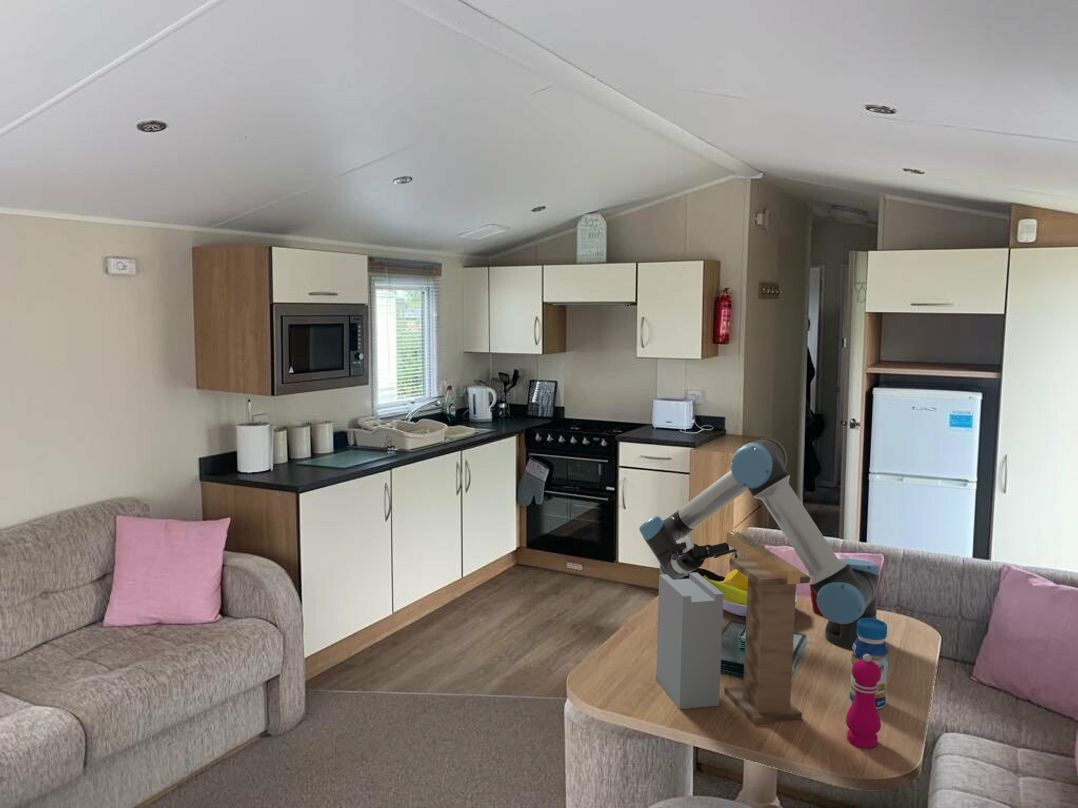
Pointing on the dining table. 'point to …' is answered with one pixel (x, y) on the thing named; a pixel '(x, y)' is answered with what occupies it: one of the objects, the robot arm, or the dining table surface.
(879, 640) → the beverage bottle
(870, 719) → the pepper mill
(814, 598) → the plastic cup
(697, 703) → the block
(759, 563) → the wooden bar
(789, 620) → the walnut stand
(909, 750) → the dining table surface
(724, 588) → the fruit bowl
